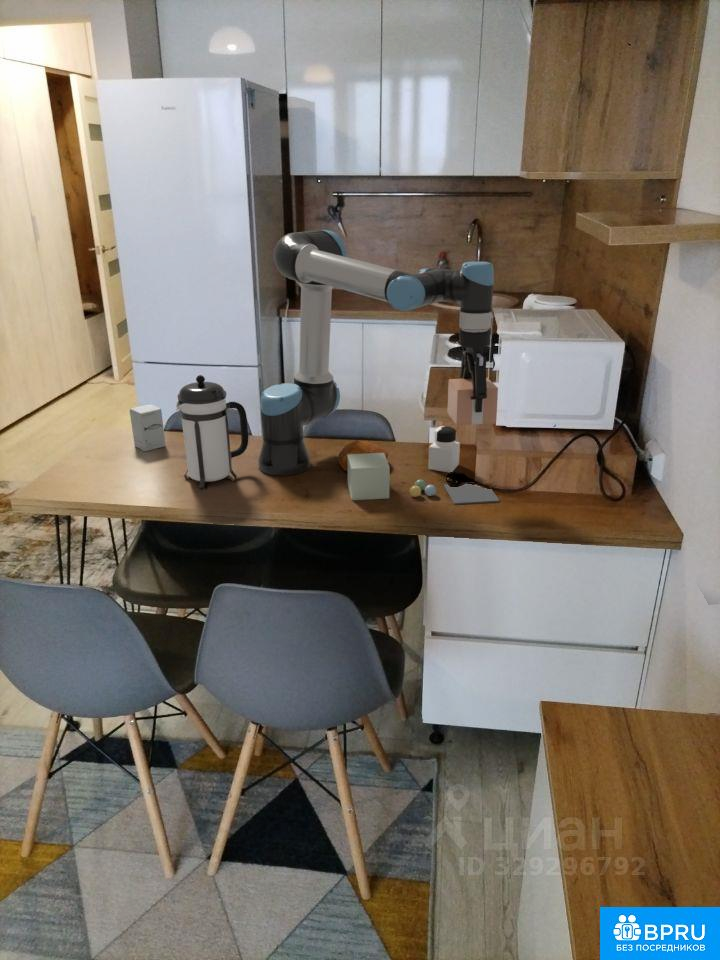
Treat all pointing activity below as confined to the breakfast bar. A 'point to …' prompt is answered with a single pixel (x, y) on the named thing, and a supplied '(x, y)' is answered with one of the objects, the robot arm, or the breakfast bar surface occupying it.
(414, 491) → the marble amber
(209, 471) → the coffee press
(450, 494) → the coaster
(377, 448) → the croissant
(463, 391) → the peach wooden cube
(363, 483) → the pale mint cube
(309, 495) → the breakfast bar surface
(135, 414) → the supplement box
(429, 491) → the marble blue
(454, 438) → the medicine bottle
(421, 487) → the marble green
